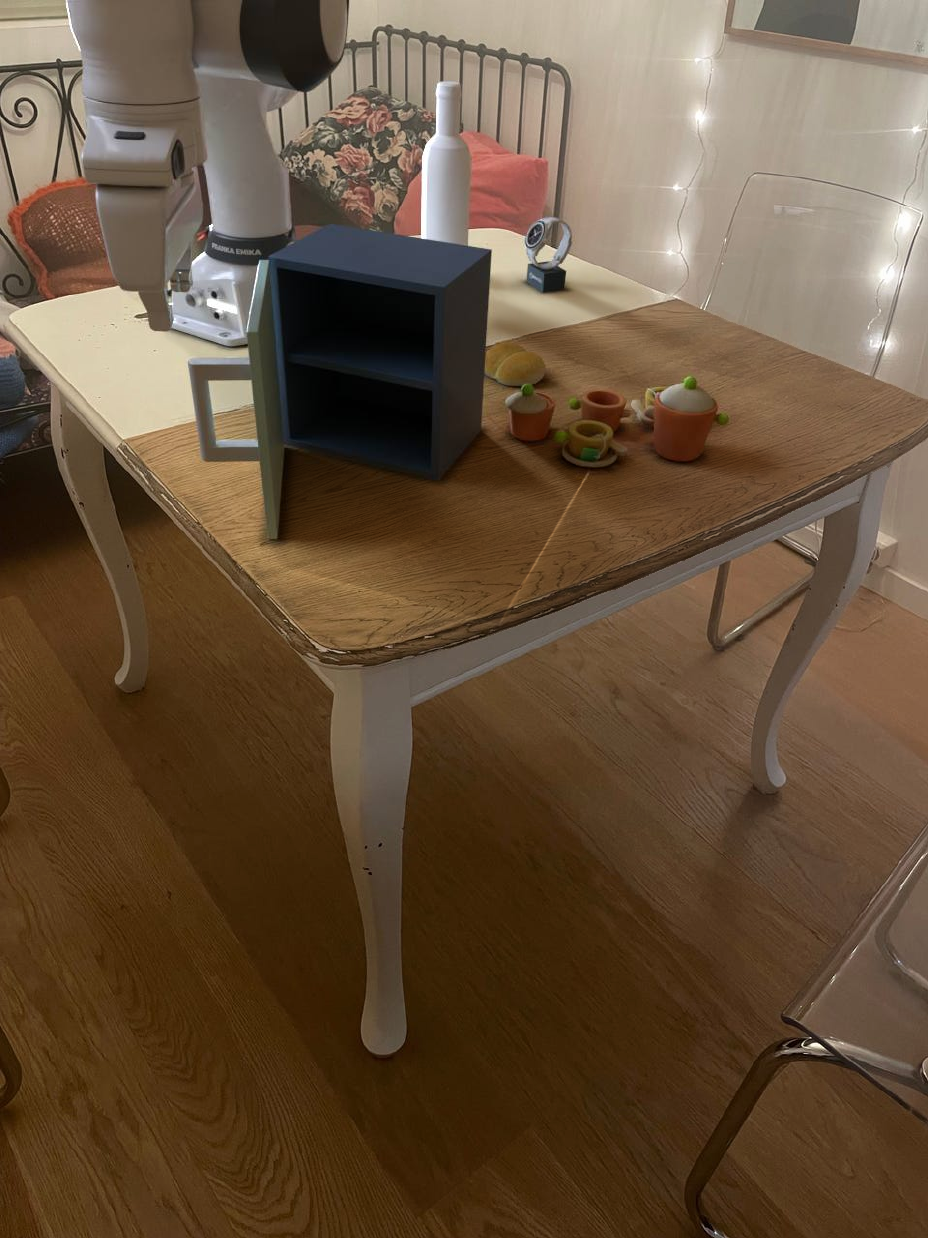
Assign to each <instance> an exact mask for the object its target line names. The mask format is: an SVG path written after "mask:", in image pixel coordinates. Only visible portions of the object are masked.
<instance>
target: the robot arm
mask: <svg viewBox="0 0 928 1238" xmlns="http://www.w3.org/2000/svg"><path fill="white" fill-rule="evenodd" d="M65 4H66V9H67V14H68V20H69V26H70V29H71V32H72V34H73V37H74V39H75V42H76V44H77V46H78V49H79V52H80V56H81V63H82V77H81V95H82V99H83V105H84V112H85V116H86V117H85V127H86V135H85V139H84V143H83V146H82V150H81V154H80V162H81V168H82V174H83V177H84V181H85V182H86V183H87V184H91V185H96V186H95V193H94V194H95V196H94V197H95V206H96V211H97V218H98V221H99V225H100V229H101V235H102V239H103V243H104V247H105V251H106V256H107V259H108V263H109V268H110V271H111V273H112V276H113V279H114V280H115V282H116V284H117V285H118V287H119V288H120V290H122V291H123V292H135V293H136V292H137V293H138V296H139V298H140V300H141V302H142V305H143V306H144V309H145V311H146V315H147V320H148V326H149V329H150V330H152V331H153V332H169V331H170V330H171V329H173V330H176V331H179V332H182V333H186V334H189V335H190V336H191V335H192V336H195V337H198V338H200V339H204V340H206V341H207V340H208V341H210V342H214V343H216V344H220V345H222V346H226V347H237V346H243V345H248V342H247V327H248V321H249V316H250V310H251V305H252V299H253V294H254V288H255V283H256V277H257V271H258V266H259V261H260V260H268V256H270V255H272V254H274V253H276V252H278V251H280V250H281V249H283V248H285V247H287V246H289V245H291V244H293V243H295V242H296V241H297V236H296V235H297V234H296V227H295V225H293V222H292V220H293V219H292V206H291V205H292V204H291V191H290V189H291V188H290V175H289V169H288V167H287V164H286V163H285V161H284V160H283V159H282V158H281V157H280V156H279V155H278V153H277V151H276V149H275V146H274V144H273V141H272V136H271V134H270V131H269V127H268V121H267V113H269V112H273V111H276V110H279V109H281V108H283V107H285V105H287V104H288V103H289V102H290V101H291V100H293V98H294V97H295V96H296V95H297V94H298V93H299V92H300V93H309V92H311V91H313V90H315V89H317V88H318V87H319V86H320V85H321V84H322V83H324V82H325V81H326V80H327V79H328V78H329V77H330V76H331V75H332V74H333V73H334V72H335V70H336V69H337V68H338V67H339V65H340V63H341V62H342V60H343V58H344V55H345V52H346V51H345V50H346V46H347V38H348V27H349V13H350V12H349V11H350V0H65ZM200 165H202V166H203V169H204V174H205V180H206V185H207V193H208V201H209V210H210V217H211V225H209V226H207V227H205V228H204V230H203V231H199V229H200V228H201V226H202V223H203V222H204V221H203V220H204V203H203V197H202V190H201V183H200V177H199V171H198V166H200ZM198 231H199V232H198ZM195 236H199V237H198V238H197V242H198V243H200V242H203V241H206V242H205V245H204V250H203V252H202V253H201V254H200V255H199V256H197V257H196V258H195V259H194V260H193V245H194V244H193V240H194V238H195ZM169 283H170V284H169ZM168 284H169V285H170V289H169V285H168ZM169 296H171V302H170V300H169Z"/></svg>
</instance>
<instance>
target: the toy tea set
mask: <svg viewBox="0 0 928 1238" xmlns="http://www.w3.org/2000/svg"><path fill="white" fill-rule="evenodd" d="M644 395H645V398H644V401H645V403H644V404H643V402H642V401H641V400H639V399H632V400H631V403H630V406H631V408H632V409H633V410H634V411H635V412H636V416H637V418H638V420H639V422H641V423H643V424H644V425H646V426H648V427H651V428H653V449H654V451H655V453H656V454H657V455H659V456H660V457H662V458H664V459H666V460H669V461H673V462H691V461H694V460H697V458H699V457H700V456H701V454H702V452H703V450H704V447H705V444H706V442H707V439H708V437H709V434H710V432H711V429H712V426H713V424H714V422H716V424H717V425H718V426H722V427H723V426H725V425H728V423H729V421H730V416H729V415H728V414H727V413H726V412H720V413H718V410H719V405H718V402H717V400H716V399H715V398H714V397H712V396H711V394H710V393H709V392H708V391H707V390H706V389H704V388H703V387H701V386H700V385H698V382H697V379H696V378H695V377H694V376H687V377H686V378H685V379H684V380H683V382H680V383H676V384H674V385H671V386H654V387H651V388H646V391H645V394H644ZM504 403H505V406H506V407H507V409H508V412H509V425H510V433H511V434H512V436H513V437H514V438H516V439H518V440H521V441H525V442H537V441H540V440H543V439H545V438H546V437H547V436H548V433H549V430H550V426H551V422H552V419H553V416H554V413H555V409H556V408H555V407H556V404H557V402H556V399H555V398H554V397H553V396H552V395H550V394H547V393H545V392H541V391H538V390H537V391H536V390H535V387H534V386H533V384H532V385H531V384H524V385H523V386H521V388H520V391H517V392H514V393H512V394H510V396H508V397H507V398H506V400H505V402H504ZM626 404H627V399H626V397H625V395H624V394H621V393H620V392H618V391H615V390H611V389H606V388H594V389H593V388H591V389H588V390H585V391H583V392H582V394H581V396H580V399H579V398H578V397H574V398H571V399H570V400H569V402H568V407H569V409H570V410H572V411H577V410H580V409H581V419H580V420H577V421H574V422H572V423H570V424H569V426H568V428H567V432H566V430H561V429H560V430H557V431H556V432H555V433H554V441H555V442H556V443H558V444H562V447H561V455H562V457H563V458H565V460H566V461H568V463H569V462H570V463H571V464H574V465H576V466H580V467H585V468H602V467H603V468H604V467H606V466H610V465H611V464H613V463H614V462H615V461H616V460H617V458H618V457H622V456H626V455H627V450H628V449H627V447H626V446H624V445H623V444H620V443H619V442H617V441H615V440H613V437H614V432H617V430H618V429H619V427H620V423H621V419H625V418H630V417H631V414H632V413H631V410H630V409H625V408H626Z"/></svg>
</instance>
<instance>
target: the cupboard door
mask: <svg viewBox="0 0 928 1238" xmlns="http://www.w3.org/2000/svg"><path fill="white" fill-rule="evenodd" d="M247 342H248V344H247V351H248V352H247V353H248V357H193V358H189V359H188V360H187V368H188V374H189V375H188V376H189V381H190V389H191V395H192V403H193V408H194V416H195V424H196V430H197V438H198V444H199V451H200V458H201V461H203V462H204V463H205V462H206V463H229V462H230V463H231V462H233V463H234V462H235V463H238V462H242V463H243V462H259V468H260V479H261V489H262V499H263V507H264V519H265V528H266V529H265V530H266V537H267V540H277V539H278V537H279V535H278V534H279V525H280V513H281V511H280V510H281V498H282V485H283V471H284V459H285V448H286V447H285V446H286V445H284V434H283V422H282V410H281V398H280V386H279V374H278V362H277V349H276V337H275V325H274V313H273V301H272V289H271V277H270V265H269V260H260V261H259V266H258V271H257V277H256V283H255V288H254V294H253V299H252V305H251V310H250V316H249V321H248V327H247ZM209 381H213V382H214V381H219V382H221V381H222V382H223V381H251V390H252V400H253V410H254V420H255V430H256V439H255V438H253V439H252V438H251V439H247V438H246V439H217V436H216V430H215V429H216V428H215V422H214V413H213V406H212V398H211V392H210V391H211V390H210V383H209Z"/></svg>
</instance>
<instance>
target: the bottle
mask: <svg viewBox="0 0 928 1238" xmlns="http://www.w3.org/2000/svg"><path fill="white" fill-rule="evenodd" d="M436 86H437V87H436V92H435V96H436V119H435V120H436V122H435V123H436V124H435V125H436V126H435V134H434V135H433V136H432V137H431V138H430V139H429V140H428V141H427V142H426V144H425V148H424V150H423V154H422V157H421V159H422V160H421V161H422V163H421V165H422V166H421V220H420V221H421V224H420V225H421V226H420V227H421V228H420V229H421V233H420V238H423V239H429V240H435V241H441V242H447V243H454V244H460V245H466V246H469V229H470V228H469V227H470V207H471V185H472V184H471V182H472V155H471V151H470V148H469V144H468V143H467V142H466V141H465V139H464V138H463V137H462V136H461V134H460V128H461V103H462V102H461V99H462V96H463V94H462V84H460V82H458V81H451V80H443V81H439V82H438V83H437V85H436Z"/></svg>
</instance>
